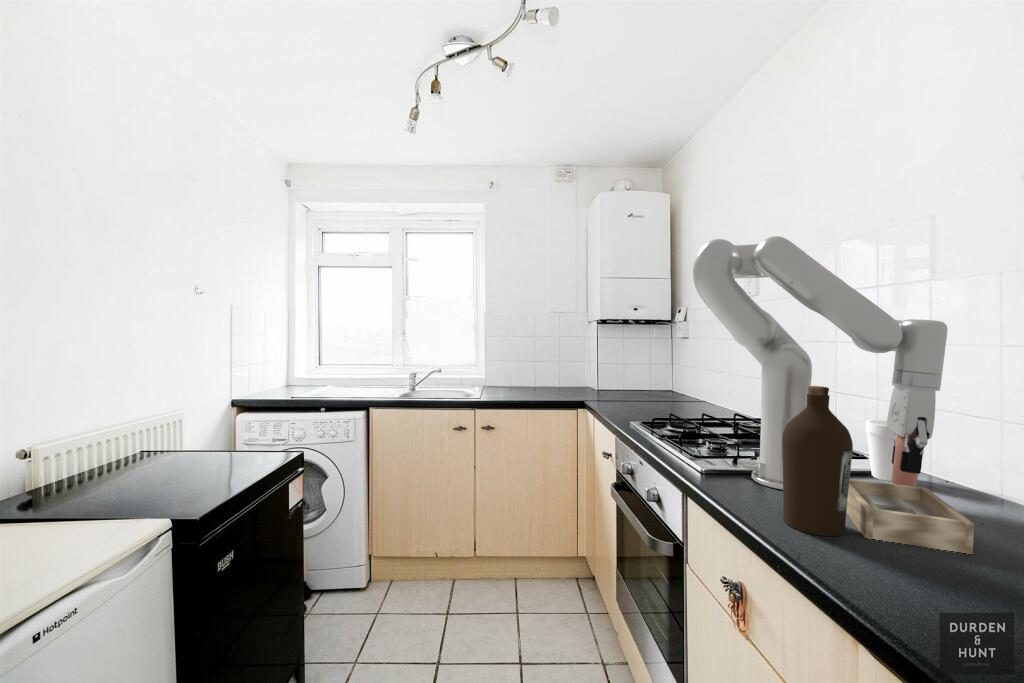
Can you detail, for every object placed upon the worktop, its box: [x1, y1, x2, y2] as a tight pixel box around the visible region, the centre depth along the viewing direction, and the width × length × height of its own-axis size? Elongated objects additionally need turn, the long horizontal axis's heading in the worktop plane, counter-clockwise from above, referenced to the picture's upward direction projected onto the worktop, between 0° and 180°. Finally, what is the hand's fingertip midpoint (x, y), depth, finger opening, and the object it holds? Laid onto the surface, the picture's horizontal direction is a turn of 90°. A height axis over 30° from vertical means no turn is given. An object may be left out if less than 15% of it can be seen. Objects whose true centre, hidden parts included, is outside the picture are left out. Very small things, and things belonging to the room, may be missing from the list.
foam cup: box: [865, 418, 896, 482], centre depth 113 cm, size 10×9×13 cm
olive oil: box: [782, 385, 854, 537], centre depth 85 cm, size 11×11×25 cm
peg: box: [890, 434, 919, 487], centre depth 97 cm, size 4×4×12 cm
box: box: [846, 478, 975, 555], centre depth 86 cm, size 14×18×5 cm
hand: (905, 467), depth 97 cm, fingers closed on peg, 4 cm apart
